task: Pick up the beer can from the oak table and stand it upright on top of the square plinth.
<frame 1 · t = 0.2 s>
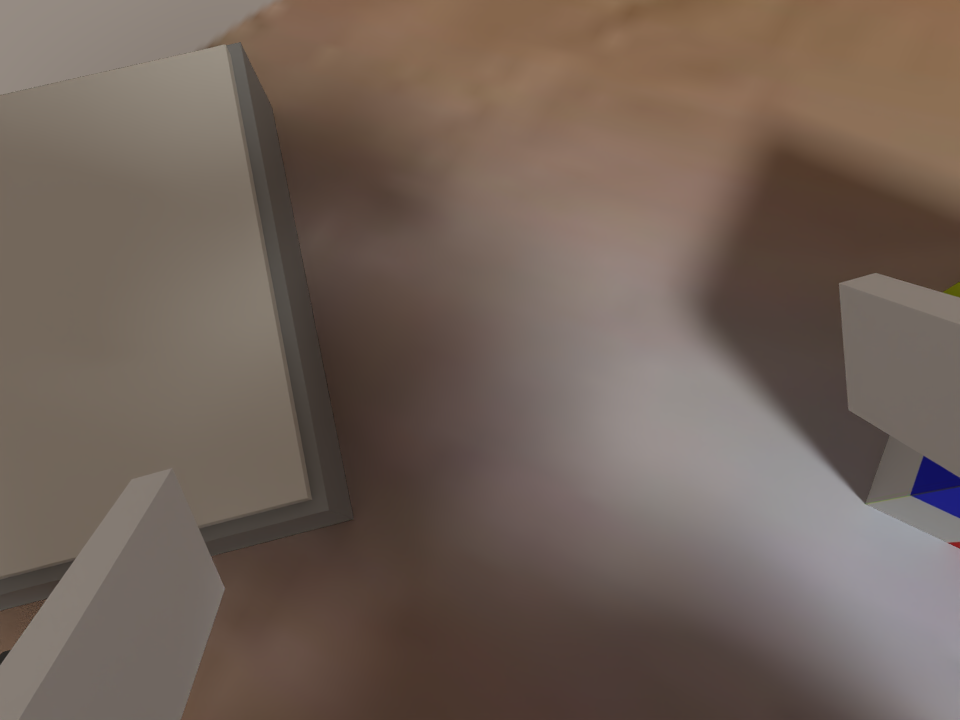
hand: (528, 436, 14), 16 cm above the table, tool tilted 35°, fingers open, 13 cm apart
plinth: (83, 349, 31), on the table
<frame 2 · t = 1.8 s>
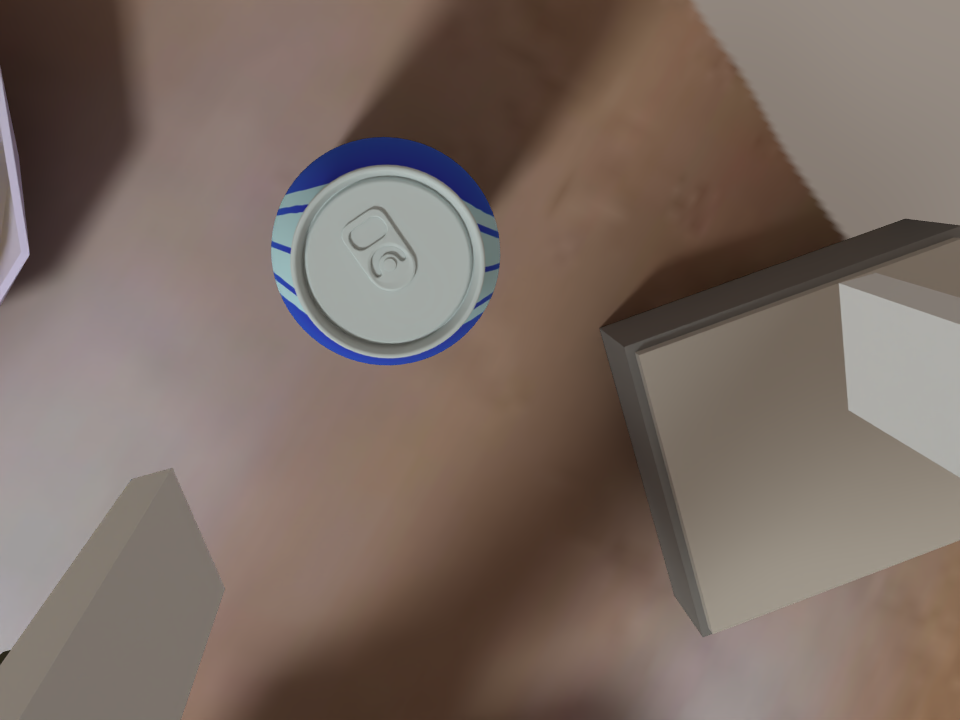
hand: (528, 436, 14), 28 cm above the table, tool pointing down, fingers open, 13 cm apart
beer can: (382, 222, 40), on the table
plinth: (783, 417, 46), on the table
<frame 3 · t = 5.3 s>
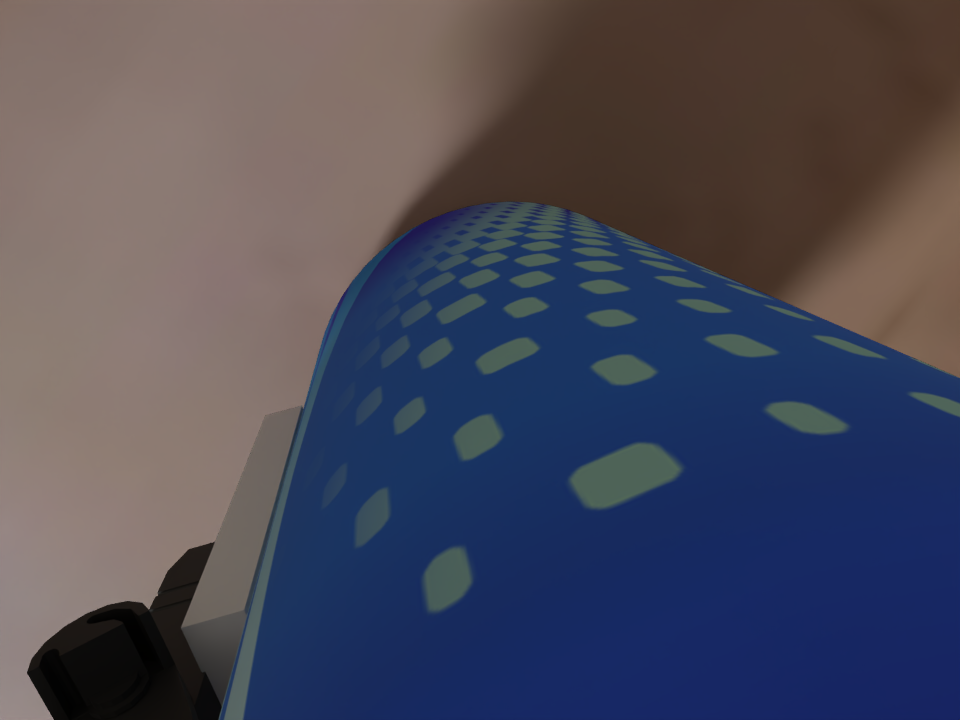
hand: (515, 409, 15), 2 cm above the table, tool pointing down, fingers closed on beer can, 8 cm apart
beer can: (496, 371, 18), on the table, touching gripper
when the fingers open (9 cm above the table, at t = 13.3 s): beer can drops 1 cm, resting on plinth.
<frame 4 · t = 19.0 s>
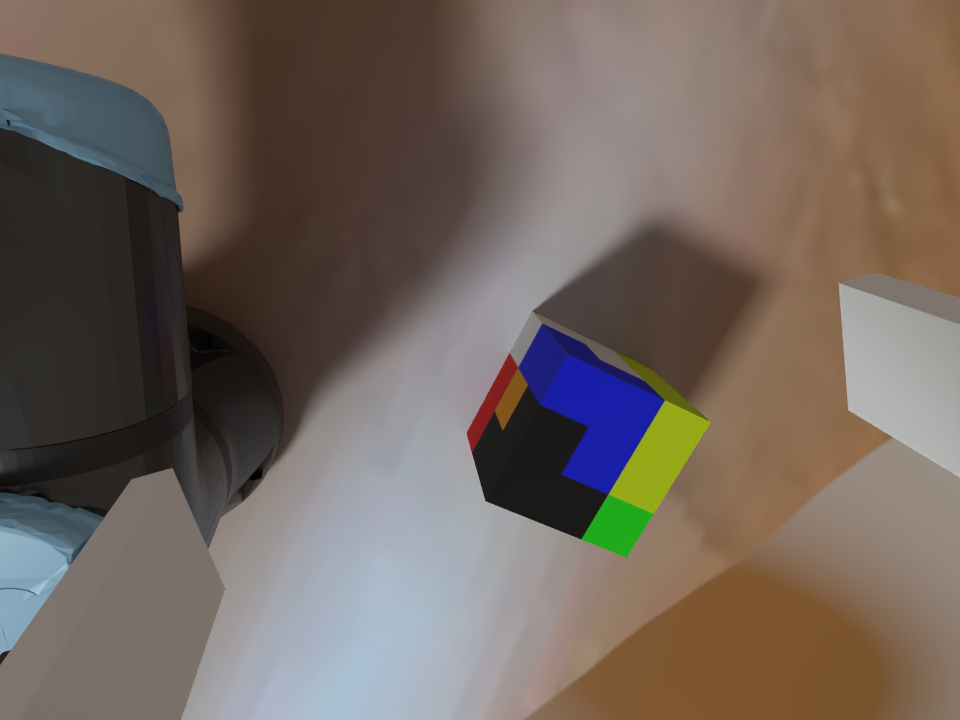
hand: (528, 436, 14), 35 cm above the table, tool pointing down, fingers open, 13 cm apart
puzzle toy: (558, 399, 52), on the table
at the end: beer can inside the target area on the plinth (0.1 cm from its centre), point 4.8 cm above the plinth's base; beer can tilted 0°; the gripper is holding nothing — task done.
